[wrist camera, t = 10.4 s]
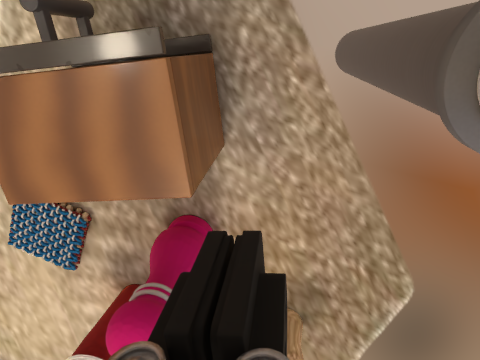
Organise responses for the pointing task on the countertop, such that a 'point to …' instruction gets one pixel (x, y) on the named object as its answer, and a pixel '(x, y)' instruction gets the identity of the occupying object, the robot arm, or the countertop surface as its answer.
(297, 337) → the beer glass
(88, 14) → the sliding door
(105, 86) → the cabinet
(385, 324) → the countertop surface
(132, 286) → the paper cup
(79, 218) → the woven mat
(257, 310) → the robot arm
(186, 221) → the pepper mill
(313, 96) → the countertop surface
